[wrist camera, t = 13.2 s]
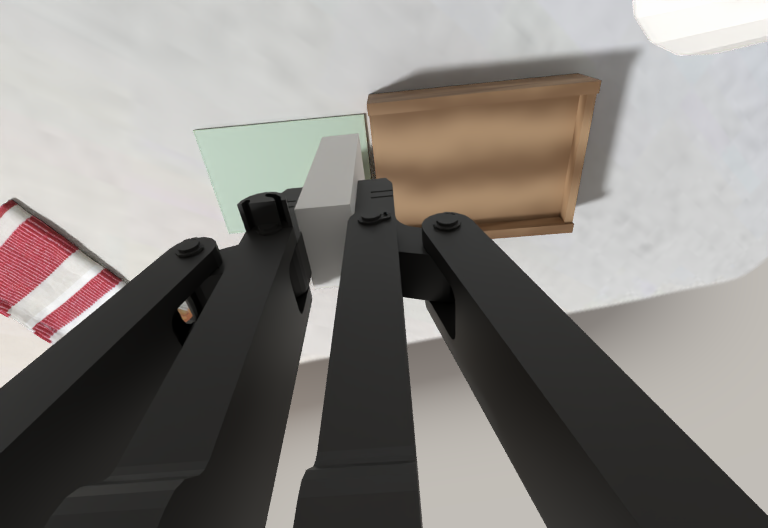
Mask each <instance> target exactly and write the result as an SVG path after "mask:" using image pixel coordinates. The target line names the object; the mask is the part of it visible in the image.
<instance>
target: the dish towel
mask: <svg viewBox="0 0 768 528" xmlns="http://www.w3.org/2000/svg"><path fill="white" fill-rule="evenodd" d="M125 285H126V283H125V282H124V281H122V280H121V279H119V278H118V277H117V276H115V275H114V274H113V273H111V272H110V271H109V270H107V269H106V268H104V267H103V266H101V265H100V264H98V263H97V262H95V261H93V260H92V259H91V258H89V257H88V256H87V255H85V254H84V253H83V252H82V251H81V250H79V249H78V248H77V247H76V246H75V245H73V244H72V243H71V242H70V241H68V240H67V239H66V238H64V237H63V236H62V235H60V234H59V233H57V232H56V231H54V230H53V229H52V228H50V227H49V226H48V225H47V224H45V223H44V222H42V221H41V220H39V219H38V218H36V217H35V216H33V215H31V214H30V213H28V212H27V211H26V210H24V209H23V208H22V207H21V206H19V205H18V204H17V203H16V202H14V201H13V200H8V202H7V203H4V204H2V205H1V207H0V313H1V314H2V315H4V316H6V317H10V318H12V319H14V320H15V321H17V322H18V323H19V324H21V325H22V326H24V327H25V328H27V329H28V330H30V331H31V332H33V333H34V334H36V335H37V336H39V337H40V338H42V339H43V340H45V341H47V342H48V343H50V344H52V345H54V344H55V343H56V342H57V341H58V340H60V339H61V338H62V337H63V336H65V335H66V334H67V333H68V332H69V331H71V330H72V329H73V328H74V327H75V326H77V325H78V324H79V323H80V322H82V321H83V320H84V319H85V318H86V317H88V316H89V315H90V314H91V313H92V312H94V311H95V310H96V309H97V308H99V307H100V306H101V305H102V304H103V303H105V302H106V301H107V300H108V299H109V298H111V297H112V296H113V295H114V294H116V293H117V292H118V291H119V290H120V289H122V288H123V287H124V286H125Z"/></svg>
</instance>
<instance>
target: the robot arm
mask: <svg viewBox="0 0 768 528" xmlns="http://www.w3.org/2000/svg"><path fill="white" fill-rule="evenodd" d="M237 207H238V210H239V212H240V215H241V218H242V221H243V224H244V227H245V230H246V232H245V234H244V236H243V238H242V240H241V242H240V243H239V245H236V246H232V247H228V248H225V249H221V250H219V249H218V246H217V244H216V241H214V240H213V239H212V238H207V237H201V238H197V237H195V238H191V239H186V240H184V241H183V242H181V243H179V244H177V245H175V246H173V247H172V248H170V249H169V250H168V251H167V252H165V253H164V254H163V255H162V256H160V257H159V258H158V259H157V260H156V261H154V262H153V263H152V264H151V265H150V266H148V267H147V268H146V269H145V270H143V271H142V272H141V273H140V274H139V275H137V276H136V277H135V278H134V279H133V280H131V281H130V282H129V283H128V284H126V285H125V286H124V287H123V288H122V289H120V290H119V291H118V292H117V293H116V294H114V295H113V296H112V297H111V298H109V299H108V300H107V301H106V302H105V303H103V304H102V305H101V306H100V307H99V308H97V309H96V310H95V311H94V312H92V313H91V314H90V315H89V316H88V317H86V318H85V319H84V320H83V321H82V322H80V323H79V324H78V325H77V326H75V327H74V328H73V329H72V330H71V331H69V332H68V333H67V334H66V335H65V336H63V337H62V338H61V339H60V340H58V341H57V342H56V343H55V344H54V345H52V346H51V347H50V348H49V349H48V350H46V351H45V352H44V353H43V354H41V355H40V356H39V357H38V358H37V359H35V360H34V361H33V362H32V363H31V364H29V365H28V366H27V367H26V368H24V369H23V370H22V371H21V372H20V373H18V374H17V375H16V376H15V377H14V378H12V379H11V380H10V381H9V382H8V383H6V384H5V385H4V386H3V387H1V388H0V528H265V525H266V521H267V516H268V511H269V506H270V501H271V496H272V492H273V487H274V482H275V477H276V472H277V467H278V463H279V458H280V453H281V448H282V443H283V438H284V434H285V429H286V424H287V419H288V414H289V409H290V404H291V399H292V395H293V390H294V385H295V380H296V375H297V371H298V366H299V361H300V356H301V351H302V346H303V342H304V337H305V332H306V327H307V322H308V317H309V313H310V308H311V303H312V295H311V291H310V287H309V283H310V278H311V277H312V281H313V285H314V289H326V288H337V287H339V291H338V298H337V306H336V314H335V321H334V329H333V336H332V344H331V352H330V359H329V368H328V374H327V382H326V390H325V398H324V405H323V412H322V420H321V428H320V435H319V443H318V451H317V456H316V461H315V464H314V466H313V467H311V468H309V469H307V470H306V472H305V474H304V476H303V479H302V482H301V486H300V490H299V495H298V501H297V507H296V513H295V520H294V525H293V528H423V527H422V514H421V503H420V491H419V480H418V468H417V457H416V445H415V433H414V422H413V413H412V412H413V410H412V399H411V387H410V376H409V365H408V353H407V341H406V329H405V318H404V306H403V297H407V298H414V299H421V300H425V303H426V307H427V310H428V311H429V313H430V315H431V317H432V319H433V320H434V322H435V324H436V326H437V328H438V330H439V331H440V333H441V335H442V337H443V339H444V340H445V342H446V344H447V346H448V348H449V350H450V351H451V353H452V355H453V357H454V359H455V360H456V362H457V364H458V366H459V368H460V370H461V371H462V373H463V375H464V377H465V378H466V381H467V382H468V384H469V386H470V388H471V390H472V391H473V393H474V395H475V397H476V399H477V401H478V402H479V404H480V406H481V408H482V410H483V412H484V413H485V415H486V417H487V419H488V421H489V422H490V424H491V426H492V428H493V430H494V431H495V433H496V435H497V437H498V438H499V441H500V442H501V444H502V446H503V448H504V449H505V452H506V453H507V455H508V457H509V459H510V461H511V463H512V464H513V466H514V468H515V470H516V472H517V473H518V475H519V477H520V479H521V481H522V482H523V484H524V486H525V488H526V490H527V492H528V493H529V495H530V497H531V499H532V501H533V503H534V504H535V506H536V508H537V510H538V512H539V513H540V515H541V517H542V519H543V521H544V523H545V524H546V526H547V528H768V515H766V513H765V512H764V511H763V510H762V509H760V508H759V506H758V505H757V504H755V502H754V501H753V500H752V499H751V498H750V497H749V496H748V495H746V493H745V492H744V491H743V490H742V489H741V488H740V487H739V486H738V485H737V484H735V482H734V481H733V480H732V479H731V478H730V477H728V475H727V474H726V473H725V472H724V471H722V469H721V468H720V467H719V466H718V465H717V464H715V462H714V461H713V460H712V459H710V457H709V456H708V455H707V454H706V453H705V452H704V451H703V450H702V449H701V448H700V447H699V446H698V445H697V444H696V443H695V442H693V440H692V439H691V438H690V437H689V436H688V435H687V434H685V432H684V431H683V430H682V429H680V428H679V426H678V425H676V424H675V422H674V421H673V420H672V419H671V418H669V416H668V415H667V414H666V413H664V411H663V410H662V409H661V408H660V407H659V406H658V405H657V404H656V403H655V402H653V401H652V399H651V398H650V397H648V395H647V394H646V393H645V392H643V390H642V389H641V388H640V387H639V386H638V385H637V384H635V382H634V381H633V380H632V379H631V378H630V377H629V376H628V375H627V374H625V373H624V371H622V369H621V368H620V367H619V366H618V365H617V364H616V363H615V362H614V361H613V360H612V359H611V358H610V357H609V356H608V355H607V354H606V353H605V352H604V351H603V350H602V349H601V348H600V347H599V346H598V345H596V343H595V342H593V340H592V339H591V338H590V337H589V336H588V335H586V333H584V331H583V330H582V329H581V328H580V327H579V326H578V325H577V324H575V322H573V320H572V319H571V318H570V317H568V315H567V314H566V313H565V312H564V311H563V310H562V309H561V308H560V307H559V306H558V305H557V304H556V303H555V302H554V301H553V300H552V299H551V298H550V297H549V296H548V295H547V294H546V293H545V292H544V291H543V290H542V289H541V288H540V287H539V286H538V285H537V284H536V283H535V282H534V281H533V280H532V279H531V278H530V277H529V276H528V275H527V274H526V273H525V272H524V271H523V270H522V269H521V268H520V267H519V266H518V265H517V264H516V263H515V262H514V261H513V260H512V259H511V258H510V257H509V256H508V255H507V254H506V253H505V252H504V251H503V250H502V249H501V248H500V247H499V246H498V245H497V244H496V243H495V242H494V241H493V240H492V239H491V238H490V237H489V236H488V235H487V234H486V233H485V232H484V231H483V230H482V229H481V228H480V227H479V226H478V225H477V224H476V223H475V222H474V221H473V220H472V219H470V218H469V217H467V216H466V215H463V214H459V213H456V212H443V213H437V214H434V215H431V216H429V217H428V218H426V219H425V220H424V221H423V223H422V228H420V227H412V226H407V225H404V224H402V223H400V222H399V221H398V220H397V219H396V216H395V207H394V196H393V185H392V182H391V181H389V180H388V179H387V178H378V179H368V180H365V176H364V169H363V161H362V153H361V146H360V138H359V133H356V134H347V135H337V136H328V137H322V139H321V142H320V144H319V147H318V149H317V152H316V155H315V157H314V160H313V162H312V165H311V168H310V170H309V173H308V175H307V178H306V181H305V183H304V186H303V187H300V188H290V189H286V190H285V191H283V192H282V193H279V192H264V193H258V194H255V195H252V196H249V197H247V198H245V199H243V200H241V201H240V202H239V203H238V204H237ZM184 302H186V304H187V306H188V307H189V309H190V311H191V313H192V315H193V316H192V317H191V318H190V320H188V321H187V322H185V321H184V320H183V319H182V317H181V315H180V313H179V311H178V308H179V307H180V306H181V305H182V304H183V303H184Z"/></svg>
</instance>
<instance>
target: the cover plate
mask: <svg viewBox="0 0 768 528" xmlns="http://www.w3.org/2000/svg"><path fill="white" fill-rule="evenodd" d="M193 132H194V135H195V138H196V141H197V143H198V146H199V149H200V152H201V155H202V158H203V161H204V163H205V166H206V169H207V172H208V175H209V178H210V180H211V183H212V186H213V189H214V192H215V195H216V198H217V200H218V203H219V206H220V209H221V212H222V215H223V218H224V220H225V223H226V226H227V229H228V232H229V234H232V233H244V232H246V230H245V227H244V224H243V221H242V218H241V215H240V212H239V210H238V207H237V204H238V203H239V202H240V201H241V200H243V199H245V198H247V197H249V196H252V195H255V194H258V193H264V192H279V193H282V192H283V191H285V190H286V189H290V188H300V187H303V186H304V183H305V181H306V178H307V175H308V173H309V170H310V168H311V165H312V162H313V160H314V157H315V155H316V152H317V149H318V147H319V144H320V142H321V139H322V137H328V136H337V135H347V134H356V133H359V138H360V146H361V153H362V161H363V169H364V176H365V180H368V179H371V173H370V164H369V155H368V146H367V137H366V129H365V120H364V114H359V115H348V116H338V117H327V118H317V119H306V120H296V121H285V122H275V123H264V124H254V125H243V126H233V127H222V128H212V129H201V130H194V131H193Z"/></svg>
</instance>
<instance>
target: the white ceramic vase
mask: <svg viewBox="0 0 768 528" xmlns="http://www.w3.org/2000/svg"><path fill="white" fill-rule="evenodd" d="M632 2H633V12H634V17H635V19H636V21H637V22H638V24H639V25H640V27H641V29H642V30H643V32H644V34H645V35H646V37H647V38H648V40H649V41H650V42H651V43H653V44H655V45H657V46H659V47H661V48H663V49H665V50H667V51H669V52H671V53H673V54H675V55H677V56H686V55H709V54H718V53H722V52H727V51H731V50H735V49H739V48H743V47H747V46H751V45H755V44H760V43H764V42H768V0H632Z"/></svg>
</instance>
